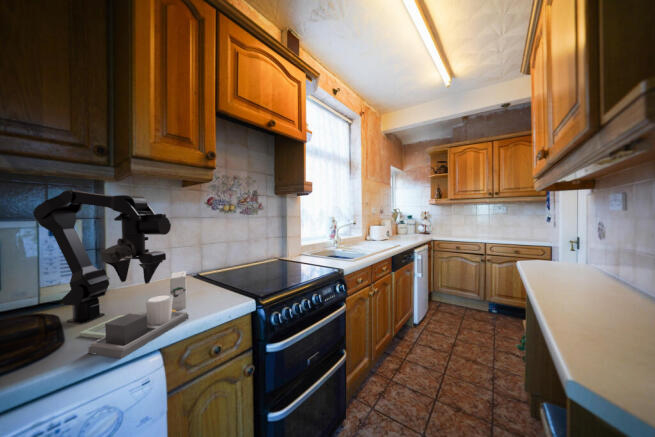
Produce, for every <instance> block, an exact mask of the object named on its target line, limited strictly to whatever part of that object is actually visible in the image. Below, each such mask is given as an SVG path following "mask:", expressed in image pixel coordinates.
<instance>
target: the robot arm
mask: <svg viewBox="0 0 655 437" xmlns="http://www.w3.org/2000/svg"><path fill="white" fill-rule="evenodd" d="M83 205H89V206H94V207H95V206H96V207H103V208H109V209H111V211H115V212H117V213H119V214H118V215H117V216H116V217H114V218H113V220H114V221H116V222H117V221H118V222H119V221H120V222H121V238H118V239H117V241H116V244H115V245H111V246H109V247H107V248H105V249H104V250H101V251H100V252H99V254H100V256H101V261H102V262H104V263H105V264H106V265H110V266H111V267H113V269H114V271H115V272H116V274H117V277H118V278H119V280H120V282H121V283H124V282H126V281H127V277H128V273H129V268H130V263H131V260H138V261H139V262H140V263H138V266H140V267H141V268H142V271H143V280H144V284H145V285H147V284H150V282H151V279H153V276H154V274H155V273H156V270H157V269H158V267H159V265H160V264H161V263H163V261H166V260H167V257H166V256H167V255H166V253H165V252H164V251H160V250H154V251H149V250H150V249H148V248H146V241H149V237H148V236H147V235H151V236H152V235H153V236H156V235H157V236H160V235H161V236H164V235H168V234H169V232H170V231H171V226H172V225H171V224H172V223H171V222H170V219H169V218H168V217H167V214H166V213H155V211H154V210H153V209H152V207H151V206H150V205H149V204H148V200H146V198H145V197H144V196H141V195H130V194H129V195H128V194H126V195H125V194H121V195H118V194H117V195H109V194H101V193H95V192H87V191H86V192H85V191H83V190H75V189H74V190H73V189H67V190H64V191H62V192H61V193H60V194H58V195H55V196H53V197H51V198H48V199H46V200H44V201H42V202H41V203H39V204H38V205H37V206H36V207H35V208H34V209H33V212H32V214H33V216H34V218H35V219H36V221H37V223H38V224H39V225H40V226H41V227H43V228H44V229H45V230H47V231H49V232H51V233H52V234H53V238H54V240H55V241H56V244H57V245H58V247H59V249H60V251H61V253H62V255H63V258H64V260H65V261H66V263H67V264H66V265H67V266H68V267H69V269H70V271H71V277H70V281H69V287H70V290H69V292H67V293H66V294H65V295H64V296H63V298H62V299H61V300H62V301H63V302H62V303H63V305H64V306H72V318H70V319H67V320H66V322H67V323H74V324H79V325H82V324H86V323H87V322H90V321H93V320H96V319H98V318H101V317H103V316H105V314H106V313H104V312H100V311H101V307H100V305H101V304H100V299H99V298H100V297H104V296H106V293H107V291H108V288H109V286H110V281H109V280H110V277H109V276H108V274H107V272H106V270H105V268H101V269H100V268H99V269H98V268H97V267H95V266H94V264H92V261H91V258H90V257H89V255H88V253H87V251H86V248H85V247H84V245H83V242H82V241H81V239H80V236H79V234H78V233H77V231H76V228H75V226H76V223H77V219H78V218H77V214H78V213H79V212H80V211H81V210H82V209H83Z"/></svg>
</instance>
